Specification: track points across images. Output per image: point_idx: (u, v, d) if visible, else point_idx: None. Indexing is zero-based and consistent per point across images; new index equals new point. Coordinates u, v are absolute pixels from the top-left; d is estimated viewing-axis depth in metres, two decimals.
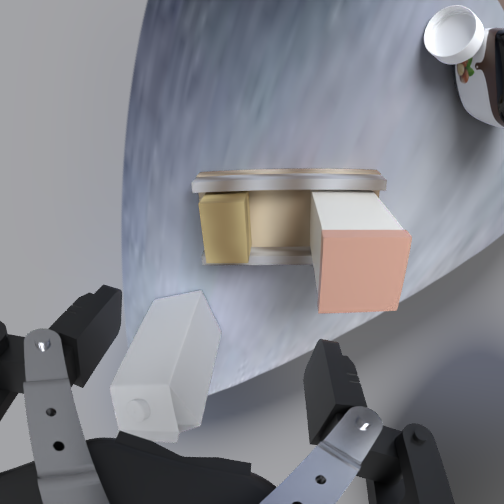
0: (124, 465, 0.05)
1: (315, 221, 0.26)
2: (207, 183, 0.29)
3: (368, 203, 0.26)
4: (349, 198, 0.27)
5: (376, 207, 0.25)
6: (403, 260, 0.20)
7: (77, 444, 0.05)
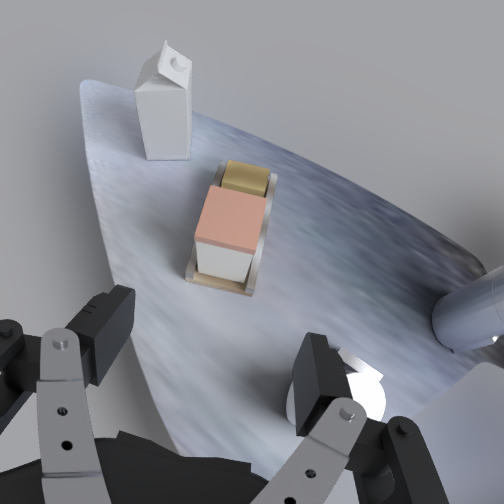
0: (124, 465, 0.05)
1: None
2: (275, 182, 0.46)
3: None
4: None
5: None
6: (239, 242, 0.31)
7: (86, 445, 0.05)
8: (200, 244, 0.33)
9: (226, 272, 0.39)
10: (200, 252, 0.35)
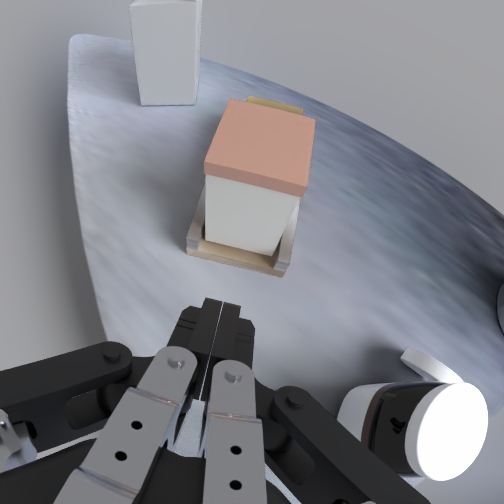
0: None
1: None
2: None
3: None
4: None
5: None
6: (278, 174, 0.18)
7: (140, 464, 0.05)
8: (212, 181, 0.20)
9: (249, 238, 0.26)
10: (212, 198, 0.22)
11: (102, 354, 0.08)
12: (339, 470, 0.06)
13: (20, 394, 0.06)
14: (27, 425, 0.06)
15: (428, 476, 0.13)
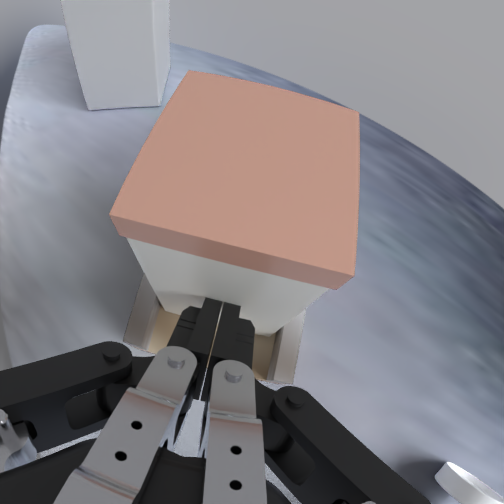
0: None
1: None
2: None
3: None
4: None
5: None
6: (287, 245, 0.08)
7: (140, 464, 0.05)
8: (144, 247, 0.09)
9: None
10: (154, 271, 0.11)
11: (102, 354, 0.08)
12: (339, 470, 0.06)
13: (20, 394, 0.06)
14: (27, 425, 0.06)
15: None
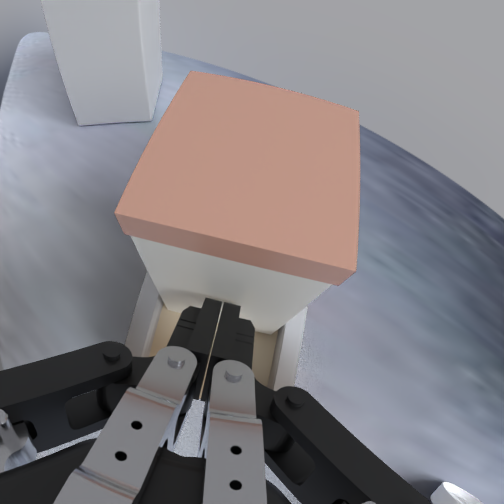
0: None
1: None
2: None
3: None
4: None
5: None
6: (290, 241, 0.08)
7: (139, 464, 0.05)
8: (147, 246, 0.09)
9: None
10: (157, 269, 0.11)
11: (102, 354, 0.08)
12: (339, 470, 0.06)
13: (20, 394, 0.06)
14: (27, 425, 0.06)
15: None
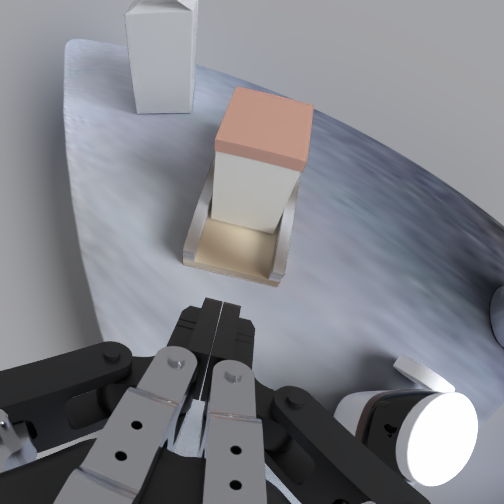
0: None
1: None
2: None
3: None
4: None
5: None
6: (281, 150, 0.20)
7: (140, 464, 0.05)
8: (222, 158, 0.22)
9: (252, 214, 0.28)
10: (220, 175, 0.24)
11: (102, 354, 0.08)
12: (339, 470, 0.06)
13: (20, 394, 0.06)
14: (27, 425, 0.06)
15: (418, 482, 0.14)
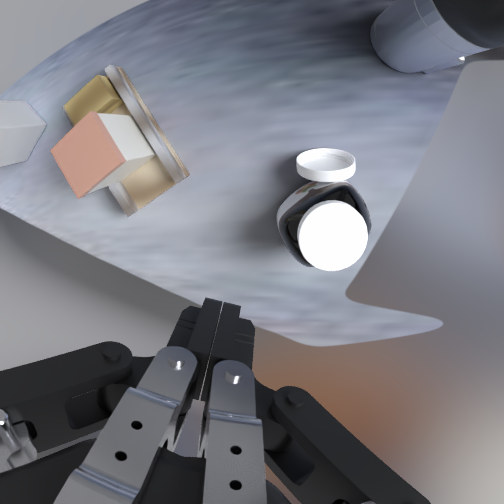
0: None
1: None
2: (114, 73, 0.32)
3: (139, 146, 0.33)
4: (137, 136, 0.33)
5: (139, 150, 0.32)
6: (105, 170, 0.27)
7: (140, 464, 0.05)
8: (90, 191, 0.30)
9: (136, 166, 0.35)
10: (99, 187, 0.32)
11: (102, 354, 0.08)
12: (339, 470, 0.06)
13: (20, 394, 0.06)
14: (27, 425, 0.06)
15: (331, 270, 0.31)
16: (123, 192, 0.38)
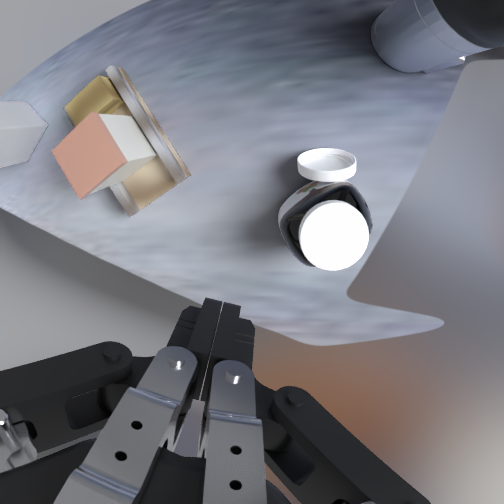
0: None
1: None
2: (115, 74, 0.32)
3: (140, 147, 0.33)
4: (138, 136, 0.34)
5: (140, 151, 0.32)
6: (107, 170, 0.27)
7: (139, 464, 0.05)
8: (92, 191, 0.30)
9: (137, 166, 0.35)
10: (101, 188, 0.32)
11: (102, 354, 0.08)
12: (339, 470, 0.06)
13: (20, 394, 0.06)
14: (27, 425, 0.06)
15: (332, 270, 0.31)
16: (124, 192, 0.38)
